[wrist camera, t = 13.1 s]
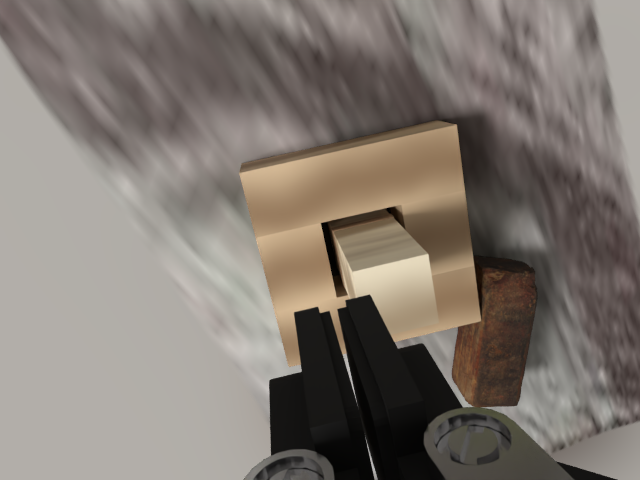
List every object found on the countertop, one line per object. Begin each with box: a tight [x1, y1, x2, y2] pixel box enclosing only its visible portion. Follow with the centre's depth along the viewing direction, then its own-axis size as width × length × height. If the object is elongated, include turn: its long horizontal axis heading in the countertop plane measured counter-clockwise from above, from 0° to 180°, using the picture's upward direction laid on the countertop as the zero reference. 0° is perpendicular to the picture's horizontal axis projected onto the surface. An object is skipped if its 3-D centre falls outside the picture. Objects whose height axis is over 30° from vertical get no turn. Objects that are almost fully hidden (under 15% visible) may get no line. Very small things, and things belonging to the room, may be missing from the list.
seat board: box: [239, 120, 481, 367], centre depth 37 cm, size 14×14×4 cm
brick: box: [452, 256, 537, 407], centre depth 40 cm, size 11×4×5 cm, turn 177°
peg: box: [327, 209, 439, 335], centre depth 33 cm, size 4×4×12 cm
